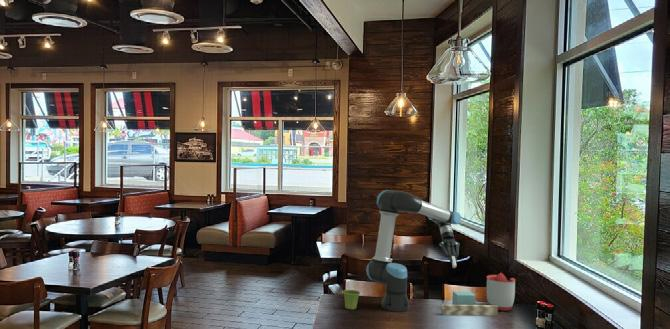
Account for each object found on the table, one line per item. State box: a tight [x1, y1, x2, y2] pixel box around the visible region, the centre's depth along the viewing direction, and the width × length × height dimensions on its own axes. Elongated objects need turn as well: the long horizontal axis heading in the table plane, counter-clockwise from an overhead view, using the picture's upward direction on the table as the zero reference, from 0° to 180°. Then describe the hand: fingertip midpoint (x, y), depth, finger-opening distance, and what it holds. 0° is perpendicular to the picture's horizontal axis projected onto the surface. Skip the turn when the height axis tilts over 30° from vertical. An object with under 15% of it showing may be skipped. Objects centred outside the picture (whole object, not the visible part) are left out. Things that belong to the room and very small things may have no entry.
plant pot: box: [342, 289, 361, 310], centre depth 246 cm, size 9×9×9 cm
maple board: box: [440, 304, 499, 317], centre depth 241 cm, size 30×2×5 cm, turn 93°
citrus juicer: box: [486, 272, 516, 312], centre depth 256 cm, size 16×17×20 cm
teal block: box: [451, 290, 476, 305], centre depth 250 cm, size 10×8×9 cm
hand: (454, 266), depth 267 cm, fingers closed
